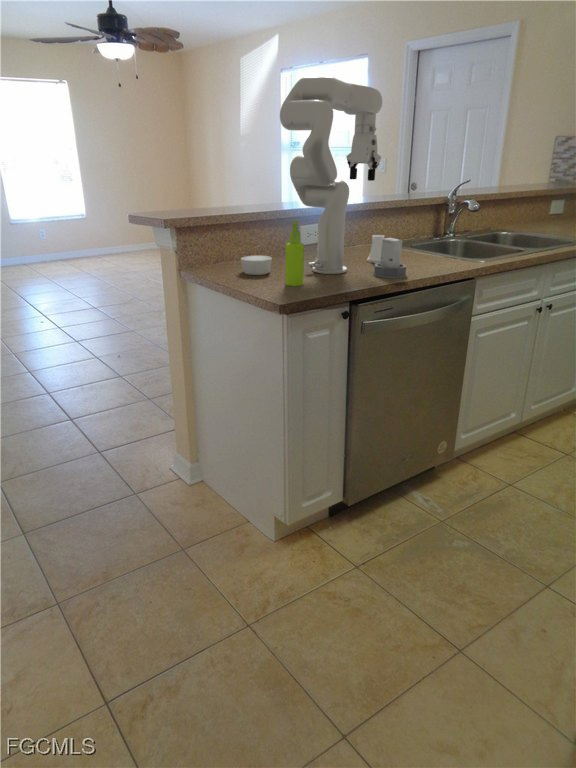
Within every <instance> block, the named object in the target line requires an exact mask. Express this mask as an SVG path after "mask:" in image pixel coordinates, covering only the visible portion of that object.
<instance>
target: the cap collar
mask: <svg viewBox="0 0 576 768" xmlns="http://www.w3.org/2000/svg"><path fill="white" fill-rule="evenodd" d="M406 271H407V266H406V264H404V263H400V266H399V268H385V267H380V263H374V270H373V273H372V275H373V276H374V275H375V276H374V277H377V278H381V277H382V278H383V279H401V278H402V277H403V278H405V277H407V274H406Z"/></svg>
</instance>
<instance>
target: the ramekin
mask: <svg viewBox="0 0 576 768" xmlns="http://www.w3.org/2000/svg"><path fill="white" fill-rule="evenodd" d="M272 261H273V258H272V257H271V256H269V255H246V256H243V257H241V258H240V262H241V267H242V271H243V273H244V274H247V275H251V276H252V275H253V276H262V275H266V274H269V273H270V271H271V267H272Z"/></svg>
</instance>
